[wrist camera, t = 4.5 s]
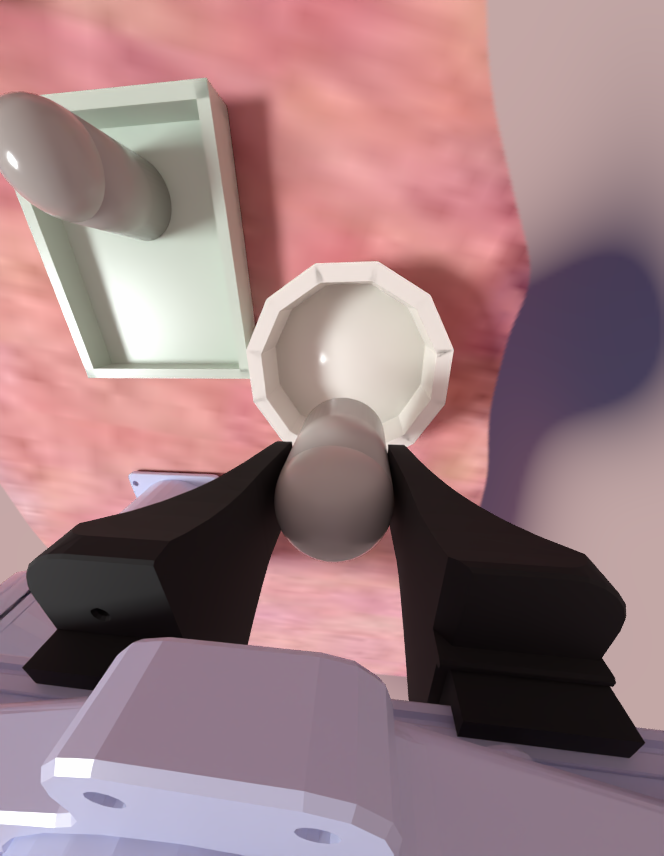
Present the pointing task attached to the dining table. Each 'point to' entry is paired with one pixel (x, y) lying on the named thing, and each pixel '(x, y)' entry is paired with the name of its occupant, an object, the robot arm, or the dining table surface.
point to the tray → (158, 244)
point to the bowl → (350, 349)
